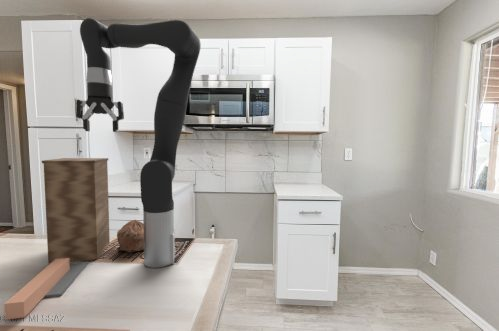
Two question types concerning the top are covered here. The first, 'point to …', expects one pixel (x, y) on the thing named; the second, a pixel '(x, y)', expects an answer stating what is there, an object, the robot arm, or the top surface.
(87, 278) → the top surface
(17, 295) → the tan wooden bar
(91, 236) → the stand
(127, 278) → the top surface
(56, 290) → the mat
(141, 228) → the decorative rock
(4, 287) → the top surface
